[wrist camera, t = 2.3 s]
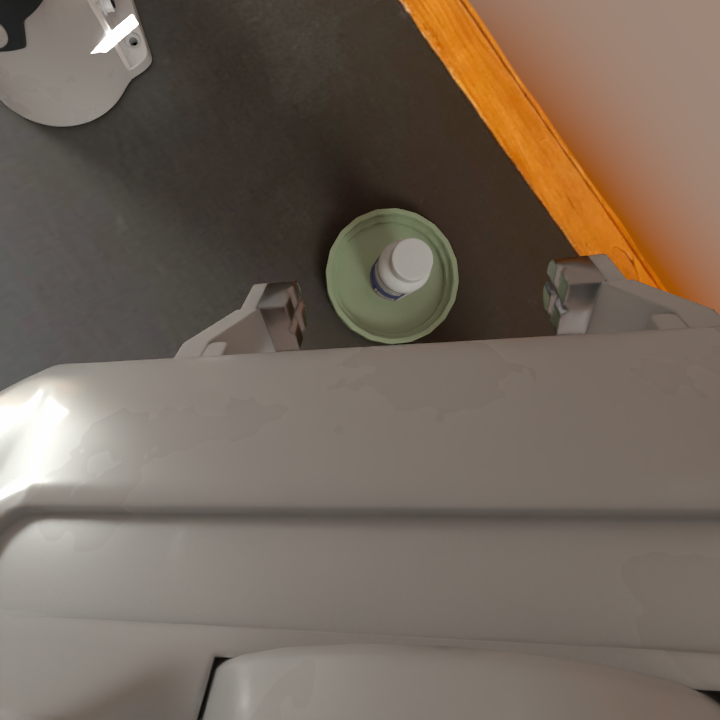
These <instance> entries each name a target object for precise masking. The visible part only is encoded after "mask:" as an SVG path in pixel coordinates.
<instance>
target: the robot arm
mask: <svg viewBox="0 0 720 720" xmlns="http://www.w3.org/2000/svg"><path fill="white" fill-rule="evenodd" d="M133 43H137V45H134V46H133V45H132V44H133ZM151 62H152V55H151V52H150V49H149V46H148V43H147V39H146V36H145V33H144V30H143V27H142V24H141V21H140V18H139V15H138V12H137V9H136V6H135V3H134V0H0V100H1V101H2V102H3V103H4V104H5V105H6V106H7V107H9V108H10V109H11V110H13V111H14V112H16V113H17V114H19V115H21V116H22V117H24V118H26V119H29V120H31V121H34V122H37V123H40V124H44V125H49V126H75V125H80V124H84V123H87V122H90V121H92V120H94V119H96V118H98V117H100V116H102V115H103V114H105V113H106V112H107V111H109V110H110V109H111V108H112V107H113V106H114V105H115V104H116V102H117V101H118V100H119V99H120V97H121V96H122V94H123V92H124V90H125V89H126V87H127V85H128V84H129V82H130V81H131V80H132V79H133V78H135V77H136V76H138V75H139V74H140V73H142V72H143V71H144V70H146V69H147V68H148V67H149V66H150V64H151ZM547 273H548V275H549V277H550V280H549V281H548V282H547V283H546V284H545V285H544V291H543V304H544V309H545V311H546V313H547V314H549V315H551V316H552V317H551V321H550V322H551V324H552V326H553V328H554V330H555V332H556V334H557V335H560V336H543V337H526V338H509V339H492V340H475V341H458V342H441V343H424V344H406V345H389V346H372V347H355V348H338V349H320V350H303V351H293V350H300V347H301V344H302V340H303V335H302V332H303V331H304V330H305V329H306V326H307V311H306V307H305V303H304V302H302V301H301V300H300V296H301V293H302V292H301V289H300V286H299V284H298V283H297V281H295V282H281V283H264V284H256V285H253V287H252V289H251V291H250V293H249V295H248V296H247V298H246V300H245V302H244V304H243V306H242V308H241V310H236V311H234V312H233V313H231V314H229V315H228V316H226V317H225V318H223V319H221V320H220V321H218V322H217V323H215V324H214V325H212V326H210V327H209V328H207V329H206V330H204V331H202V332H201V333H199V334H198V335H196V336H194V337H193V338H191V339H190V340H188V341H186V342H185V343H183V345H182V346H181V348H180V349H179V351H178V352H177V354H176V356H175V357H174V358H167V359H150V360H133V361H116V362H98V363H74V364H61V365H56V366H53V367H50V368H48V369H45V370H43V371H41V372H39V373H36V374H34V375H32V376H30V377H28V378H26V379H24V380H22V381H20V382H18V383H16V384H14V385H12V386H10V387H8V388H6V389H4V390H2V391H0V720H720V315H719V314H718V313H717V312H716V311H715V310H714V309H711V308H708V307H705V306H703V305H700V304H697V303H694V302H692V301H689V300H687V299H684V298H681V297H678V296H676V295H673V294H670V293H668V292H665V291H662V290H659V289H657V288H654V287H651V286H649V285H646V284H643V283H640V282H638V281H635V280H627V279H626V278H625V277H624V276H623V274H622V273H621V272H620V271H619V269H618V268H617V267H616V266H615V265H614V263H613V262H612V261H611V260H610V258H609V257H608V256H607V255H605V254H598V255H590V256H579V257H570V258H561V259H553V260H550V263H549V265H548V270H547ZM565 334H577V335H565ZM281 351H286V352H281Z"/></svg>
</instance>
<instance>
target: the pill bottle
mask: <svg viewBox="0 0 720 720" xmlns="http://www.w3.org/2000/svg"><path fill="white" fill-rule="evenodd" d="M432 265H433V254H432V251H431V249H430V248H429V246H428V245H427V244H426V243H425V242H424V241H422V240H420V239H417V238H407V239H399V240H396V241H394V242H392V243H390V244H389V245H388V246H386V247H385V248H384V250H383V251H382V253H381V254H380V256H379V257H378V258H377V260H376V261H375V263H374V264H373V266H372V268H371V270H370V274H369V282H370V286H371V288H372V290H373V292H374V293H375V294H376V295H377V296H378V297H380V298H381V299H383V300H386V301H398V300H401V299H403V298H405V297H406V296H408V295H410V294H411V293H413V292H415V291H417V290H418V289H420V288H421V287H422V286H423V285H424V284H425V283H426V281H427V280H428V278H429V276H430V272H431V268H432Z"/></svg>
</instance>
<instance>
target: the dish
mask: <svg viewBox="0 0 720 720" xmlns="http://www.w3.org/2000/svg"><path fill="white" fill-rule="evenodd" d="M407 238H417V239H420V240H422V241H424V242H425V243H426V244H427V245H428V246H429V248H430V249H431V251H432V254H433V265H432V268H431V272H430V276H429V278H428V280H427V281H426V283H425V284H424V285H423V286H422V287H421V288H420V289H418V290H417V291H415V292H413V293H411V294H410V295H408V296H406V297H405V298H403V299H401V300H398V301H386V300H383V299H381V298H380V297H378V296H377V295H376V294H375V293H374V292H373V290H372V288H371V286H370V282H369V274H370V270H371V268H372V266H373V264H374V263H375V261H376V260H377V258H378V257H379V256H380V254H381V253H382V251H383V250H384V248H385V247H386V246H388V245H389V244H390V243H392V242H394V241H396V240H399V239H407ZM325 279H326V288H327V295H328V298H329V300H330V302H331V304H332V306H333V309H334V311H335V313H336V315H337V316H338V317H339V318H340V319H341V320H342V322H343V323H344V324H345V325H346V326H347V327H348V328H349V329H350V330H351V331H353V332H354V333H356V334H358V335H360V336H361V337H363V338H365V339H366V340H369V341H373V342H378V343H383V344H388V345H389V344H398V343H407V342H412V341H414V340H417V339H419V338H421V337H423V336H425V335H427V334H429V333H431V332H432V331H433V330H434V329H435V328H436V327H437V326H438V325H439V324H440V323H442V322H443V321H444V320H445V318H446V316H447V315H448V313H449V311H450V309H451V307H452V306H453V304H454V302H455V298H456V293H457V288H458V283H459V278H458V268H457V260H456V257H455V255H454V253H453V250H452V248H451V246H450V243H449V241H448V240H447V239H446V237H445V236H444V235H443V234H442V233H441V231H440V230H439V229H438V228H437V227H436V225H434V224H433V223H431V222H430V221H428V220H427V219H425V218H424V217H422V216H420V215H419V214H417V213H413V212H410V211H406V210H402V209H398V208H390V209H376V210H374V211H371V212H369V213H366V214H364V215H361V216H359V217H357V218H355V219H354V220H353V221H352V222H351V223H350V224H349V225H347V226H346V227H345V228H344V229H343V230H342V231H341V232H340V234H339V235H338V237H337V239H336V240H335V242H334V244H333V246H332V247H331V249H330V252H329V257H328V262H327V267H326V272H325Z"/></svg>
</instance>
